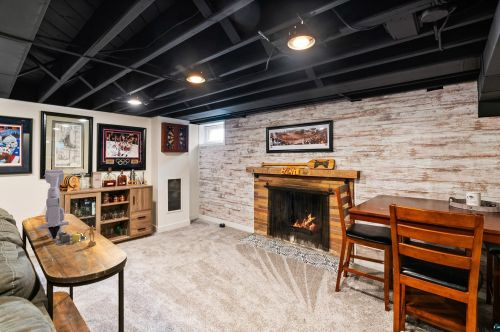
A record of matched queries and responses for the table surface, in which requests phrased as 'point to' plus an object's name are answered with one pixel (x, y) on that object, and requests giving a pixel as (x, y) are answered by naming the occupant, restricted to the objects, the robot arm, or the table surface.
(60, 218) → the robot arm
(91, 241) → the figurine
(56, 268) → the table surface
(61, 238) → the breaker
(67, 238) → the block
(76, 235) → the cap
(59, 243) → the panel
